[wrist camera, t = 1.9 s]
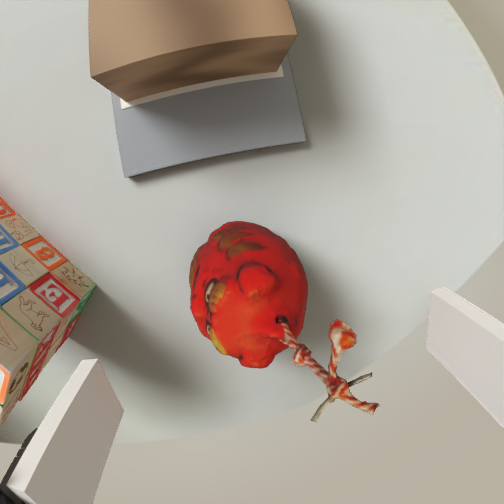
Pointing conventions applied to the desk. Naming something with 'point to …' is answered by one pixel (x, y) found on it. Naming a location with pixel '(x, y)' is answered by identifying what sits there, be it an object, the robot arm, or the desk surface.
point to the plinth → (184, 42)
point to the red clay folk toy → (262, 304)
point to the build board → (208, 120)
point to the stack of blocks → (32, 305)
